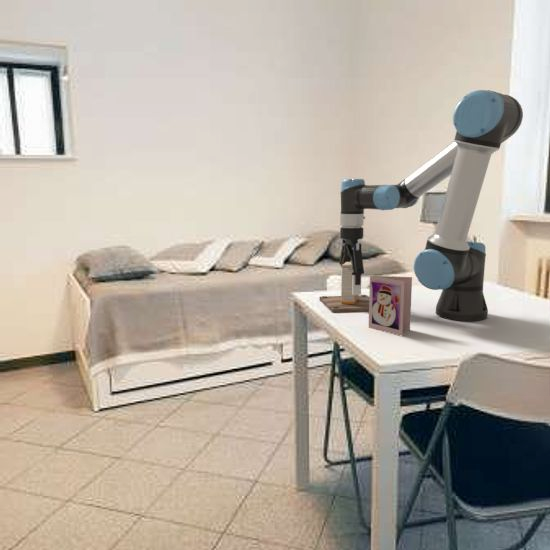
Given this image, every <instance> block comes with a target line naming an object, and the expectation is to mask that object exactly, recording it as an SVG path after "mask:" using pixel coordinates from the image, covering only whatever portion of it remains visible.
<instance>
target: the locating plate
mask: <svg viewBox="0 0 550 550" xmlns="http://www.w3.org/2000/svg"><path fill="white" fill-rule="evenodd" d="M319 301H320V302H321V303H322V304H323V305H324V306H325V307H326V308H327V309H328V310H329V311H330V312H331V313H351V312H352V313H355V312H356V313H357V312H358V313H359V312H369V295H367V294H361V295H359V299H358V300H357V301H356V303H355V304H344V303H341V295H339V296H338V295H334V296H333V295H331V296H330V295H329V296H328V295H327V296H326V295H323V296H319Z"/></svg>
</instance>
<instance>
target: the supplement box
mask: <svg viewBox="0 0 550 550" xmlns="http://www.w3.org/2000/svg"><path fill="white" fill-rule="evenodd" d="M341 268H342V283H341V282H340V287H341V288H340V289H341V290H340V291H341V292H340V293H341V295H340V296H341V303H344V304H355V303H356V301H357V300H358V299H359V295H352V278H353V275H352V272H353V267H352V262H351V261H350V262H345V263H344V264H342V267H341Z"/></svg>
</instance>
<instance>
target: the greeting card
mask: <svg viewBox="0 0 550 550" xmlns="http://www.w3.org/2000/svg"><path fill="white" fill-rule="evenodd" d="M412 285H413V277H412V276H395V275H394V276H390V275H388V276H387V275H369V293H368V294H369V295H368V296H369V311H368V328H369V329H374V330H376V331H380V330H381V331H380V332H384V331H386V332H385V333H388V332H390V333H389V334H392V333H394V334H393V335H396V334H398V335H397V336H400V335H402V336H403V331H404V330H403V329H407V330H406V331H411V316H412V315H411V313H412V311H411V310H412V287H413V286H412Z"/></svg>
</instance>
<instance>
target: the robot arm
mask: <svg viewBox="0 0 550 550" xmlns="http://www.w3.org/2000/svg"><path fill="white" fill-rule="evenodd" d="M523 117H524V112H523V108H522V105H521V104H520V102H519V101H518V99H516V98H514V97H513V96H511V95H509V94H503V93H500V92H496V91H494V90H490V89H489V90H488V89H487V90H485V89H477V90H474V91H471V92H469V93H467V94H466V95H465V96H463V97H462V98H461V99H460V100H459V102H458V103H457V104H456V105H455V108H454V111H453V114H452V121H453V122H452V123H453V126H454V129H455V130H456V132H455V136H454V139H453V141H452V142H451V143H450V144H449V145H447V146H446V147H444V148H443V149H441V151H439V152H438V153H436V154H435V155H434V156H433V157H432V158H430V159H429V160H428V161H426V162H425V163H423V165H421V166H419V168H417V169H416V170H414V172H412V173H411V174H409V175H408V176H406V177H405V178H404V179H403V180H402V181H400V182H398V183H397V184H372V185H371V184H369V185H368V184H366V183H365V180H364V179H363V178H344V179H343V180H342V181H341V185H340V214H339V215H340V219H339V221H340V222H339V226H341V227H340V228H339V230H340V231H339V234H340V235H339V238H340V239H341V241H342V242H341V243H342V244H341V252H340V257H339V265H340V267H341V270H340V271H341V272H340V274H341V275H340V284H341V283H342V264H344V263H345V262H352V267H353V272H352V275H353V278H352V295H362V275H364V274H365V269H364V260H363V251H362V245H363V244H362V243H359V240H362V239H363V238H364V227H363V226H364V221H365V219H366V216H364V215H365V214H364V213H365V210H380V211H392V210H394V209H407V208H412V207H413V206H415V205H416V204H417V203H418V201H419V199H420V197H422V196H423V195H425V194H427V193H428V192H429V191H430V190H432V189H433V188H434V187H435V186H437V185H438V184H440V183H442V181H444V180H445V179H447V178H448V177H450V178H449V181H448V184H447V188H446V192H445V195H444V199H443V202H442V205H441V209H440V214H439V216H438V220H437V225H436V227H435V232H434V233H433V234H432V235H429V236H428V237H427V239H426V242H425V243H426V244H425V248H424V249H423V250H422V251H421V252H419V253H418V254H417V255H416V257H415V259H414V262H413V271H414V275H415V277H416V278H417V280H418V282H419V283H420V284H421V285H422V286H423V287H425V288H427V289H429V290H433V291H434V290H435V291H438V290H439V291H441V290H442V291H441V293H440V296H439V298H438V301H437V303H436V306H435V315H437V317H440V318H444V319H447V320H454V321H461V322H464V321H465V322H475V321H477V322H478V321H484V320H485V319H487V318H488V314H489V311H488V310H489V309H488V306H487V302H486V299H485V295H484V281H485V268H486V267H485V266H486V258H487V257H486V256H487V254H486V245H485V244H484V243H482V242H478V241H477V242H476V241H467V238H468V235H469V232H470V228H471V225H472V221H473V219H474V218H473V217H474V214H475V211H476V208H477V204H478V201H479V197H480V195H481V191H482V189H483V184H484V180H485V177H486V174H487V171H488V168H489V164H490V160H491V157H492V155H493V154H494V153H496V152H497V151H499V150H500V148H501V144H503V143H504V142H505V141H507V140H508V139H510V138H511V137H512V136H514V134H516V132H517V131H518V130H519V128H520V127H521V125H522V122H523Z"/></svg>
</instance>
